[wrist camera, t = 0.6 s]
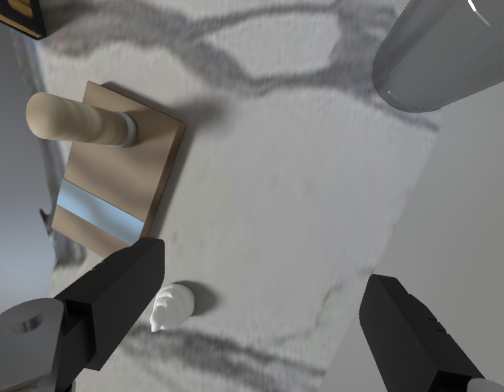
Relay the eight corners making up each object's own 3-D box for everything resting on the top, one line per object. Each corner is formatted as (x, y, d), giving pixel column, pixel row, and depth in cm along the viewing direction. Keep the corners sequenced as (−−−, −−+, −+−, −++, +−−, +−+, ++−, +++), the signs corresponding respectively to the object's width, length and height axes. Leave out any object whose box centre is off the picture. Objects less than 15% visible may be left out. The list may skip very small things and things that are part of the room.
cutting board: (99, 84, 32) (87, 80, 30) (186, 124, 30) (179, 121, 28) (63, 224, 36) (50, 227, 35) (136, 266, 35) (127, 272, 33)
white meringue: (130, 305, 28) (169, 302, 27) (159, 281, 34) (193, 278, 33) (141, 347, 29) (179, 346, 27) (168, 316, 35) (201, 314, 33)
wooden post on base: (114, 107, 30) (29, 82, 21) (142, 120, 29) (68, 100, 20) (105, 140, 31) (20, 129, 22) (132, 153, 30) (57, 148, 21)
